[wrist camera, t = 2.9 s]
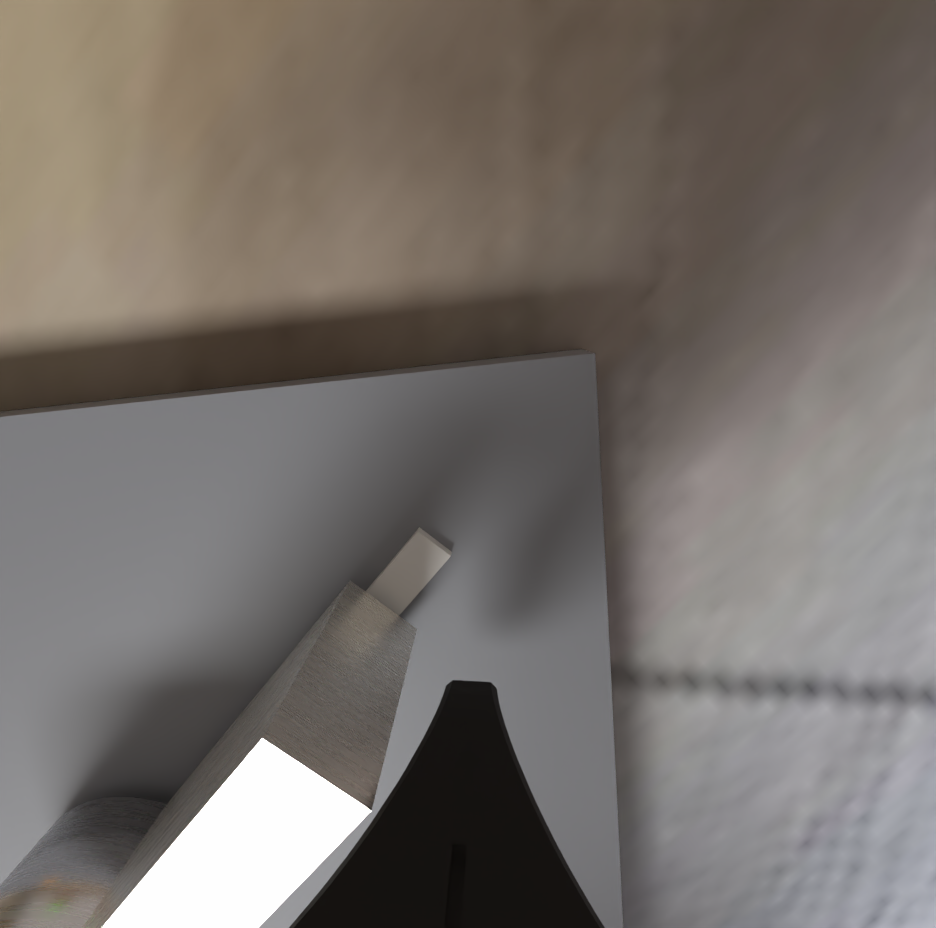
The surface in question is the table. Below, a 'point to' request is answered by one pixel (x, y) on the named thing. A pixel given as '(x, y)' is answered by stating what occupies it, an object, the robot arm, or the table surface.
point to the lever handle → (236, 797)
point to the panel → (306, 581)
